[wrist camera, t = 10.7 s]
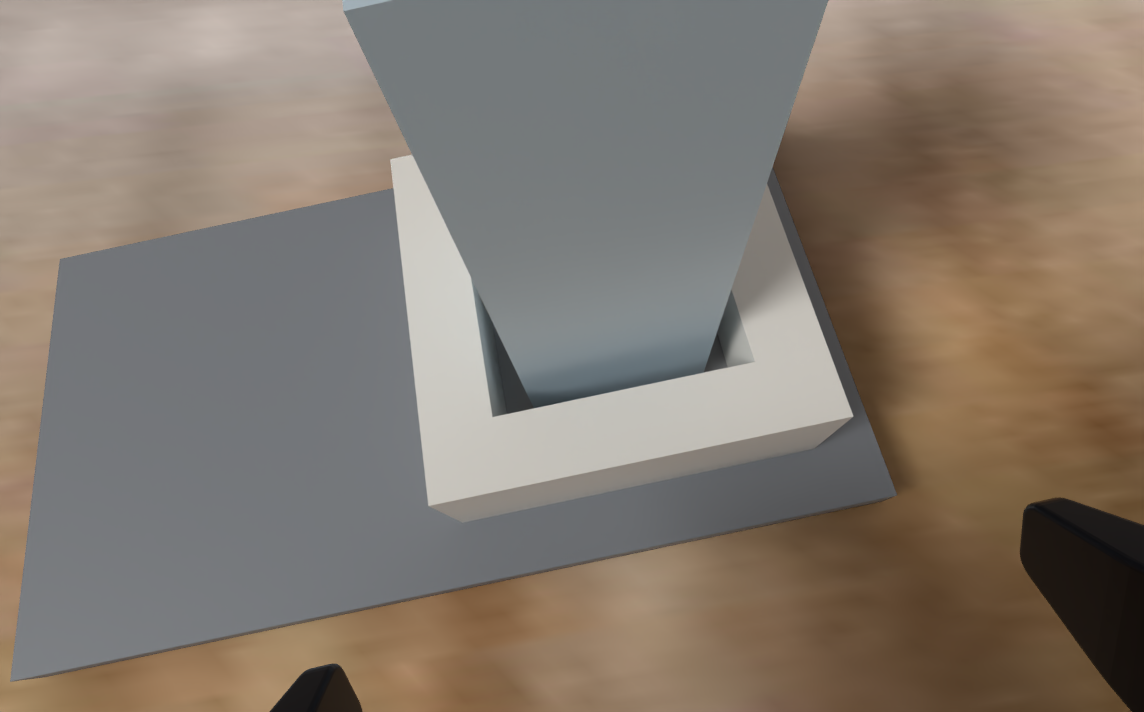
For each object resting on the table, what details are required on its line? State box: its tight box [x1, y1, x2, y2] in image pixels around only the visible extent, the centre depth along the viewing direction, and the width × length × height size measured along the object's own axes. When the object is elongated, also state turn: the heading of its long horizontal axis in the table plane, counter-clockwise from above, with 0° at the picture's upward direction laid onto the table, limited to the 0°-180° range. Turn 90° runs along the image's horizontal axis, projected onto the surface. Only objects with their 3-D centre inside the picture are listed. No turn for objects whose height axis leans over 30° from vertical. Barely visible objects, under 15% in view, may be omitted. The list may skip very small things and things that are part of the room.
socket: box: [390, 155, 854, 523], centre depth 16 cm, size 9×9×3 cm
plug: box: [342, 0, 828, 408], centre depth 11 cm, size 4×4×14 cm
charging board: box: [10, 167, 897, 682], centre depth 18 cm, size 22×12×1 cm, turn 101°
